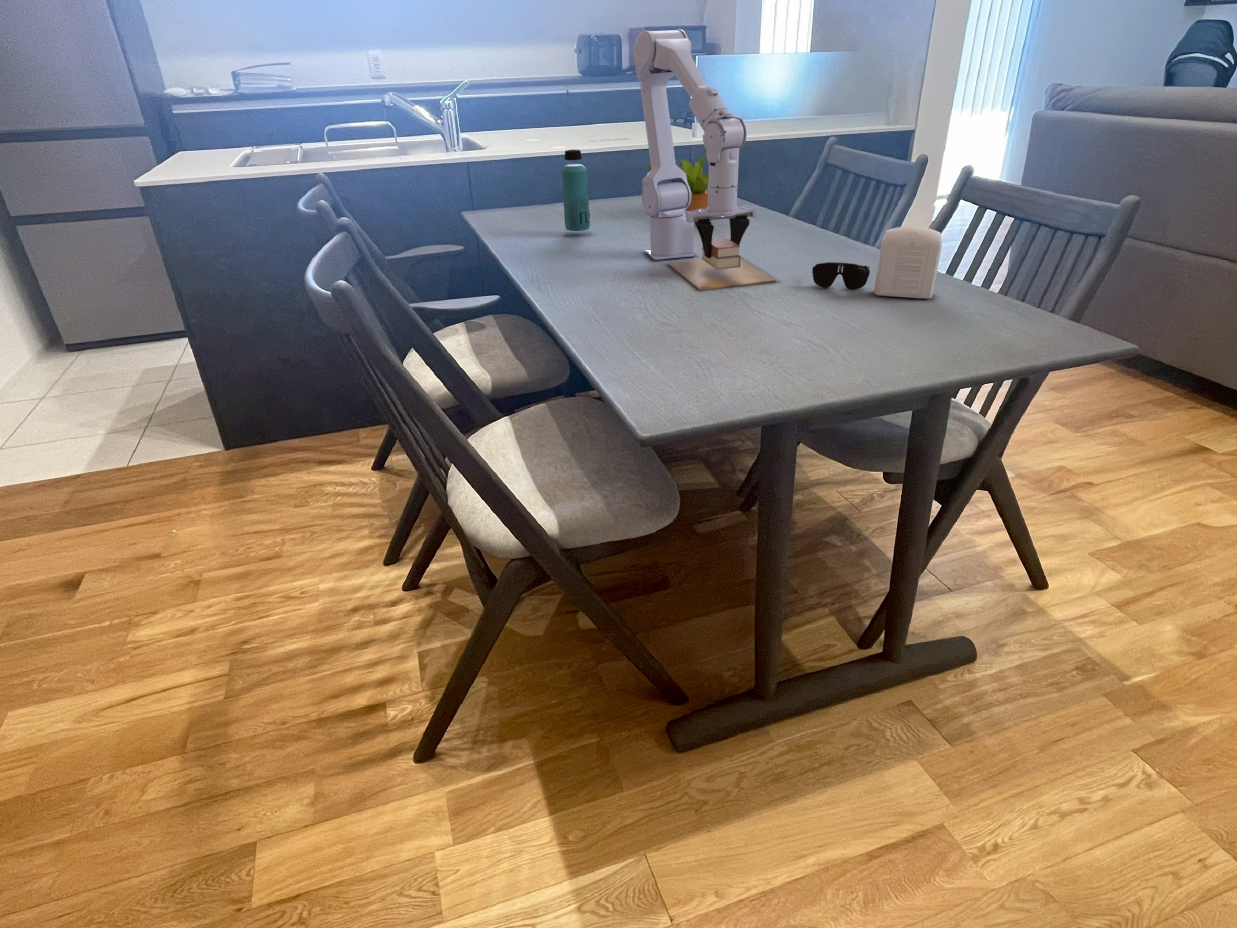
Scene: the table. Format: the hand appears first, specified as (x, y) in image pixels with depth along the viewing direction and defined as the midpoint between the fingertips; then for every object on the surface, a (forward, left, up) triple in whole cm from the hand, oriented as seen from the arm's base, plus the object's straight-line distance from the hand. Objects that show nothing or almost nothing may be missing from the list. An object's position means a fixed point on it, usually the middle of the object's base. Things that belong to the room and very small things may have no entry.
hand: (720, 255), depth 152 cm
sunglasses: (-20, +14, -4) cm, 25 cm away
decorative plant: (-13, -58, -4) cm, 60 cm away
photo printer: (-26, +26, -4) cm, 37 cm away
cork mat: (0, 0, -4) cm, 4 cm away
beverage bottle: (+21, -46, -4) cm, 51 cm away
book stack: (0, 0, -2) cm, 2 cm away
